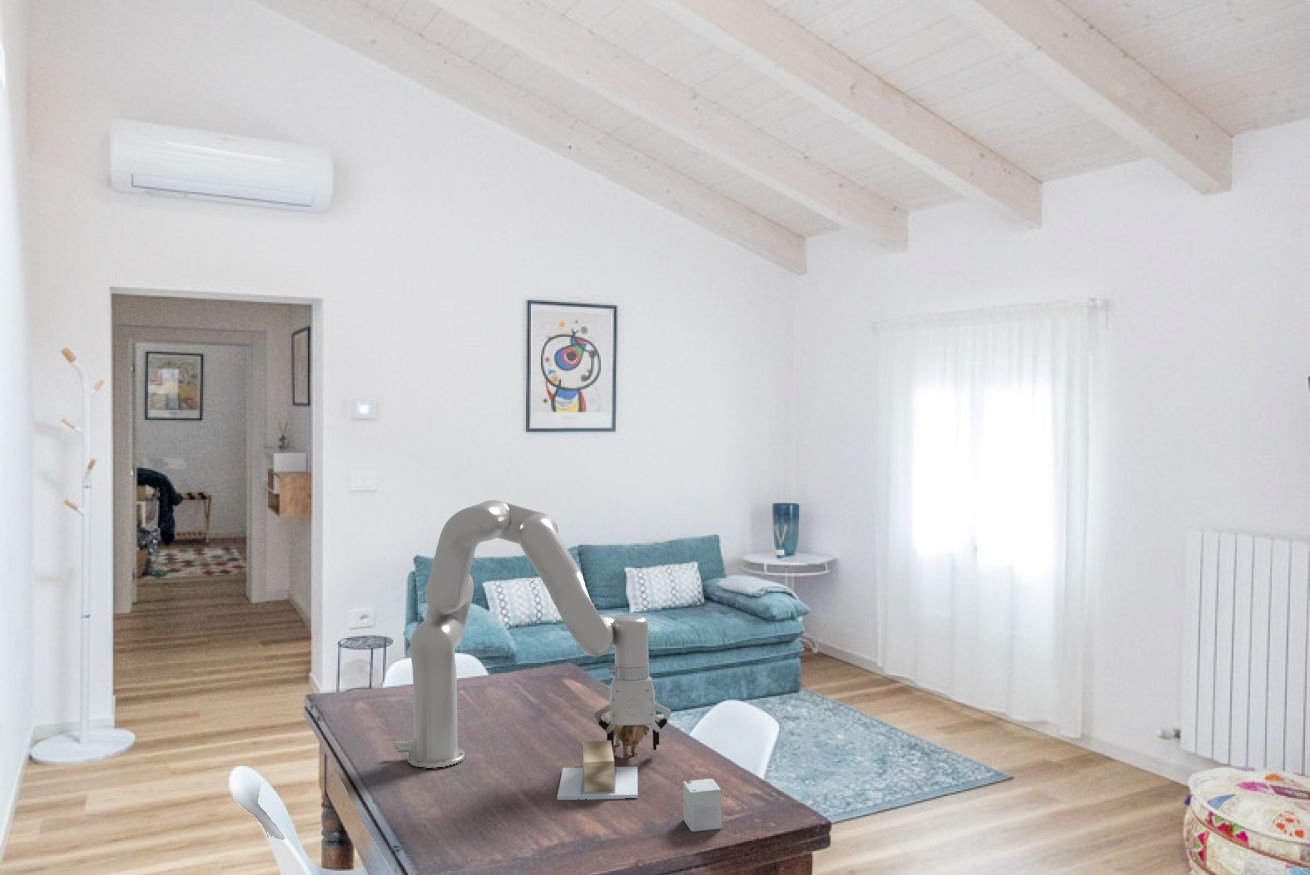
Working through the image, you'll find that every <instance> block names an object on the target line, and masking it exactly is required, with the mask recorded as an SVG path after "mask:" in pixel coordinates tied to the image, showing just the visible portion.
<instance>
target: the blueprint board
mask: <svg viewBox="0 0 1310 875" xmlns="http://www.w3.org/2000/svg"><path fill="white" fill-rule="evenodd" d="M638 779H639V778H638V766H614V781H615V791H598V792H585V789H584V774H583V767H563V768H562V771H561V776H560V782H559V787H558V791H557V795H556V797H557V801H574V800H575V801H577V800H578V799H579V800H584V801H585V799H587V800H621V799H622V800H626V799H625V798H639V797H638V796H639V794H638V793H639V792H638V791H639V790H638V788H639V787H638V785H639V784H638V783H639V782H638Z"/></svg>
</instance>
